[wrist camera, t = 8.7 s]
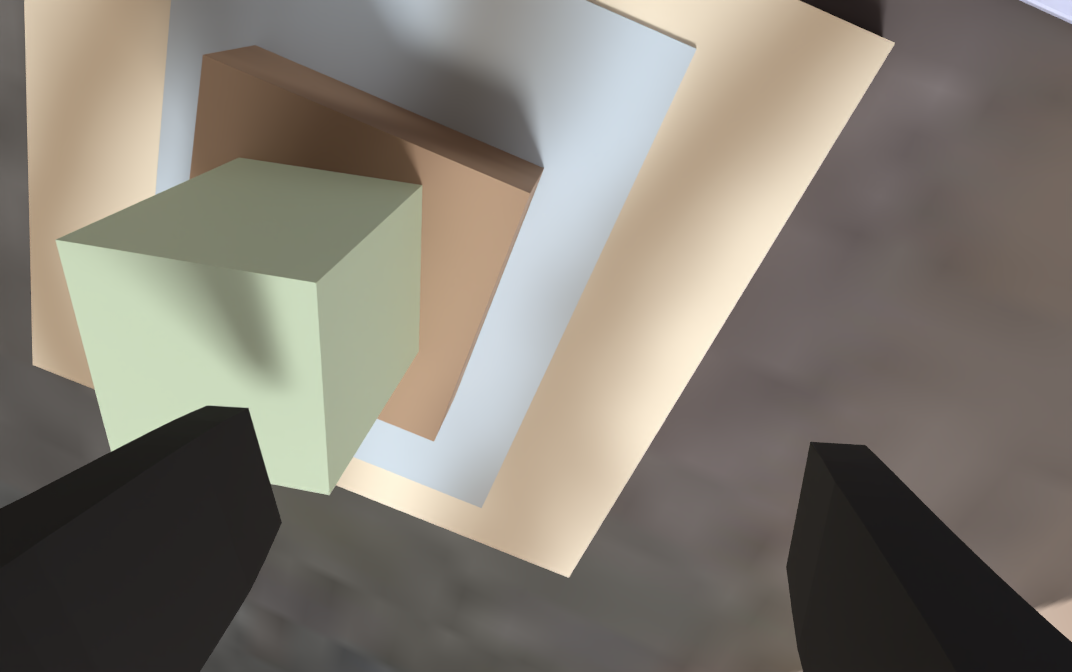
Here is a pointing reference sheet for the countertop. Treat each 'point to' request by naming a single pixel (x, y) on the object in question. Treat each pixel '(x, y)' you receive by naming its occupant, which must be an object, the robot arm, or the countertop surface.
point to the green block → (254, 308)
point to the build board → (633, 293)
